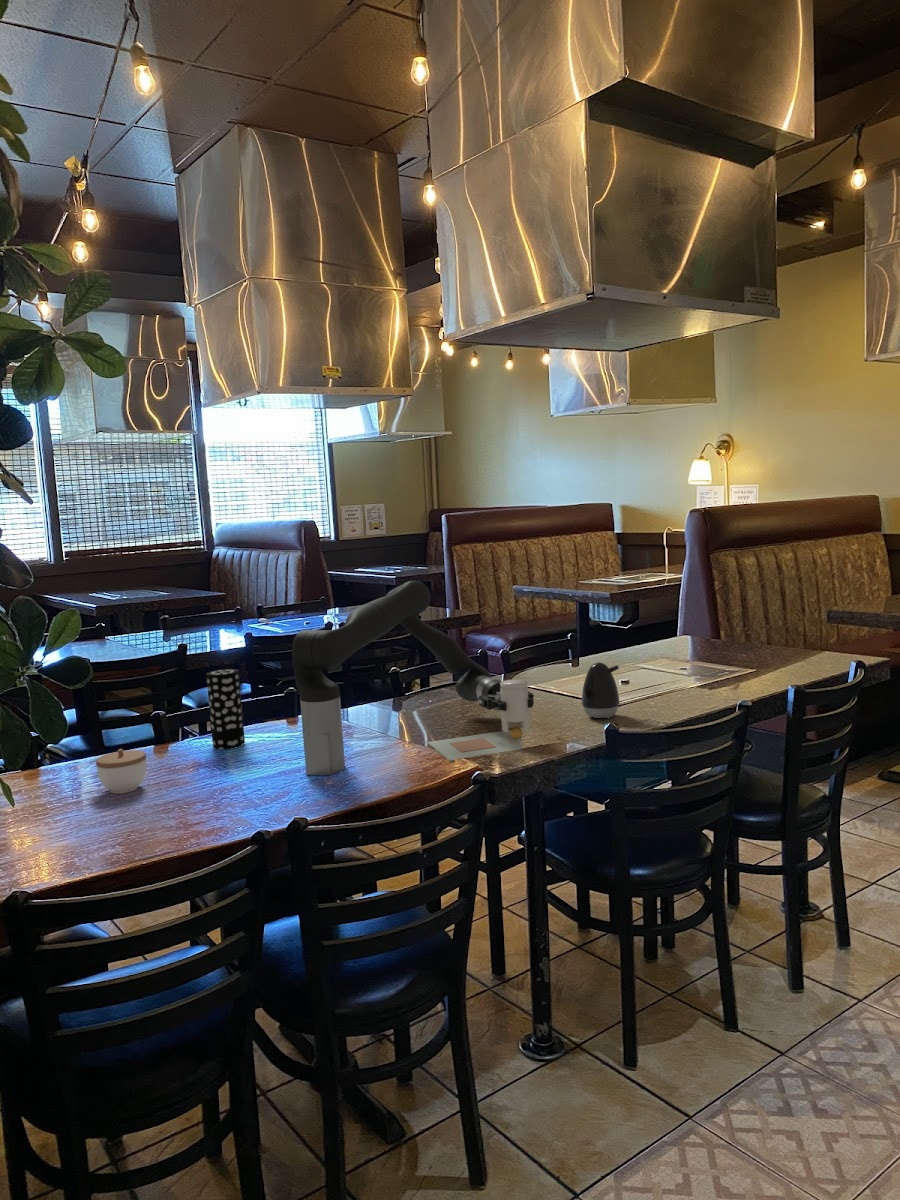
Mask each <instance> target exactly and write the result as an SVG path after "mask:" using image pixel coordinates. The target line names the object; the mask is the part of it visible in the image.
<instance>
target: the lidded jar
mask: <svg viewBox="0 0 900 1200" xmlns="http://www.w3.org/2000/svg"><path fill="white" fill-rule="evenodd" d="M146 754H147V753H146V752H145V751H143V750H138V749H130V750H129V749H128V750H124V749H123V748H119V749H117V751H114V752H110V753H106V754H104V755H101V756H99V757H98V758H97V759H96V760H95V763H96V769H97V774H98V778H99V782H100V783H101V784H102V786H103V787H104V788H105V789H107V790H108V791H109V792H110V793H111V794H114V795H115V794H126V793H131V792H134V791H136V790H138V789H139V786H140V785H141V784H142V783H143V781H144V779H145V777H146V772H147V759H146V758H147V755H146Z"/></svg>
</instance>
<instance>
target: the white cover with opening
mask: <svg viewBox="0 0 900 1200" xmlns="http://www.w3.org/2000/svg"><path fill="white" fill-rule="evenodd" d="M501 681H502V680H501ZM528 688H529V687H528V681H527V680H523V679H506V680H503V681H502V682H500V697H501V700H502V701H504V702H506V709H507V710H506V711H502V710H500V713H501V714H500V716H501V718H500V719H501V731H504V732H508V730H509V729H513V728H514V727H519V728H523V732H526V731H528V730H529V727H530V710H529V709H530V708H528V691H529V689H528Z"/></svg>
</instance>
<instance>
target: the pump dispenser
mask: <svg viewBox="0 0 900 1200" xmlns="http://www.w3.org/2000/svg"><path fill="white" fill-rule="evenodd" d="M619 669H620V668H619V665H614V666H611V667H608V666H607V664H605V663H603V662H595V663H592V664H591V666H590V667H589V670H588V671H587V673H586V675H585V679H584V682H583V686H582V695H581V706H582V707H583V711H584V712H585V714H586V715H587V716H588V717H590V718H591V717H594V718H608V717H610V718H612V717H613V716H615V715H616V713H617V711H618V709H619V705H620V695H619V690H618V686H617V683H616V680H615V678H614V675H613V674H612V673H614V672H616V671H617V670H619ZM594 718H593V719H594ZM608 719H609V718H608Z"/></svg>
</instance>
